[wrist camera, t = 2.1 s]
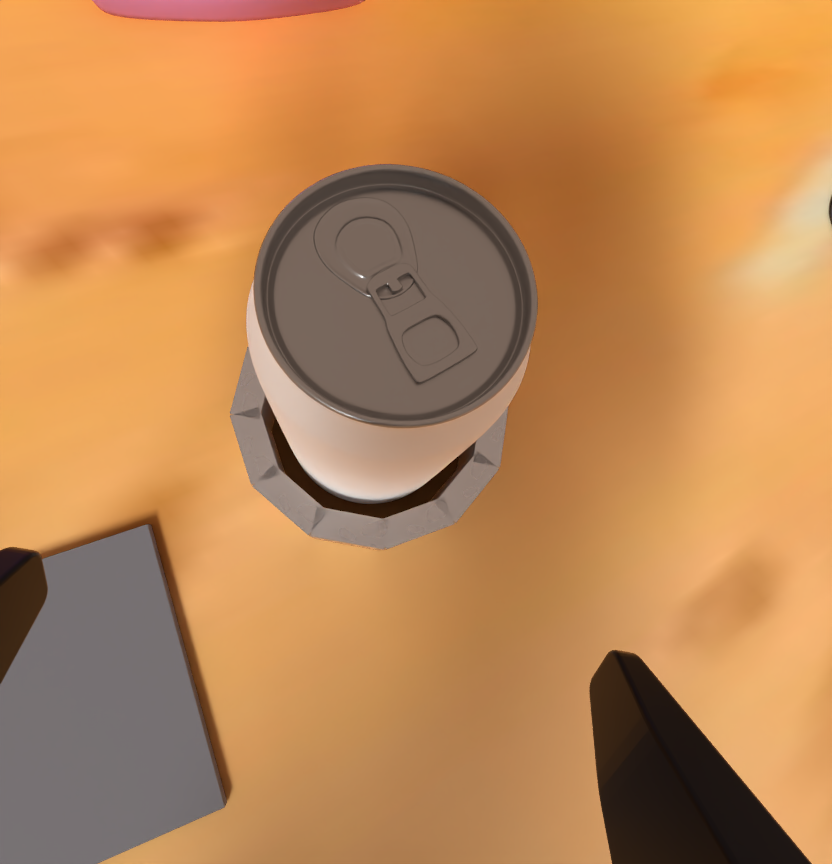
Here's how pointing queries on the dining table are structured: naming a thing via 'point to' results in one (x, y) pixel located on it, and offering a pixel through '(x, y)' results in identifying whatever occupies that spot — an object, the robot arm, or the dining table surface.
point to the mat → (102, 713)
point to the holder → (343, 527)
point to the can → (389, 326)
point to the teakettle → (218, 9)
